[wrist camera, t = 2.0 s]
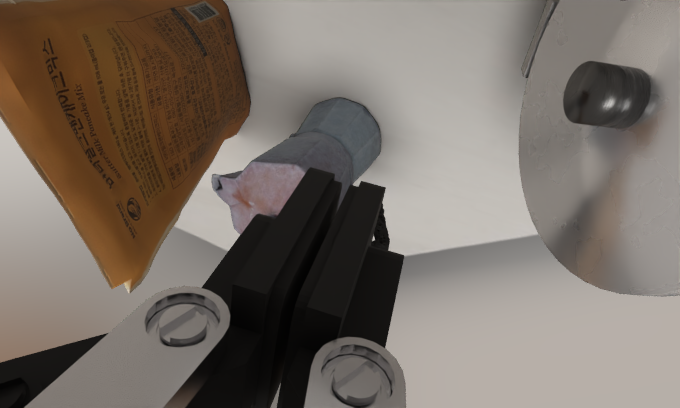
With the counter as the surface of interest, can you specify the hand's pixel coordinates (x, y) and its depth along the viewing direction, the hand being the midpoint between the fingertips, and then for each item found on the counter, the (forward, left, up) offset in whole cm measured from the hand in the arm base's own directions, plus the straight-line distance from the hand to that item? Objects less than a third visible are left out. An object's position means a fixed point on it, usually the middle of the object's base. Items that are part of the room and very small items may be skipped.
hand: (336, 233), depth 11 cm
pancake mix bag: (+11, -20, -39) cm, 45 cm away
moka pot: (+16, -6, -39) cm, 43 cm away
